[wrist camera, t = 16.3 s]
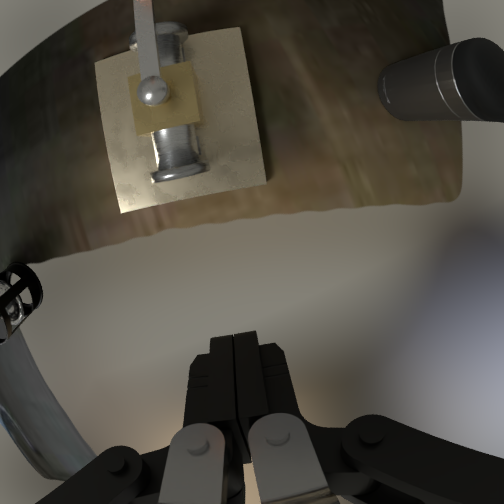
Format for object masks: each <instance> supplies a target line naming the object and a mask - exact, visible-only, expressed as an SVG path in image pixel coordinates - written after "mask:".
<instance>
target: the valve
mask: <svg viewBox="0 0 504 504" xmlns="http://www.w3.org/2000/svg"><path fill="white" fill-rule="evenodd" d="M156 33H157V41H158V50H159V58H160V66H161V73H162V79H163V80H164V81H165V82H166V83H167V84H168V86H169V89H170V93H169V97H168V99H167V100H166V101H165V102H164V103H163V104H161V105H159V106H154V107H153V106H149V105H146V104H144V103H142V102H141V101H140V100H139V98H138V96H137V88H138V86H139V84H140V82H141V74H140V66H139V58H138V48H137V38H136V31H135V32H134V33H132V34H131V36H130V37H129V44H130V49H131V50H130V51H127V52H124V53H121V54H118V55H115V56H112V57H109V58H106V59H104V60H101V61H98V62H96V63H95V70H96V79H97V88H98V96H99V103H100V110H101V117H102V123H103V129H104V135H105V141H106V146H107V151H108V157H109V162H110V167H111V171H112V176H113V181H114V185H115V189H116V194H117V198H118V202H119V206H120V210H121V213H124V212H128V211H132V210H136V209H141V208H145V207H150V206H154V205H159V204H163V203H168V202H173V201H177V200H182V199H187V198H192V197H197V196H202V195H207V194H213V193H218V192H223V191H229V190H234V189H240V188H246V187H252V186H258V185H264V184H267V183H266V176H265V170H264V163H263V157H262V151H261V144H260V138H259V132H258V126H257V120H256V114H255V108H254V102H253V96H252V91H251V85H250V79H249V74H248V68H247V62H246V57H245V51H244V46H243V41H242V35H241V30H240V27H235V28H227V29H221V30H214V31H209V32H203V33H198V34H193V35H188V31H187V26H186V25H184V24H182V23H179V22H160V23H156Z"/></svg>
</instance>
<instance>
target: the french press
mask: <svg viewBox="0 0 504 504" xmlns="http://www.w3.org/2000/svg"><path fill="white" fill-rule="evenodd" d="M11 273H15V274H16V275H18V276H19V277H20V278H21V279H20V280H19V281H18V282H16V283H15V284H14V285H13V286H12V285H11V284H10V282H9V278H10V274H11ZM26 287H28V289H29V290H30V293H31V296H32V302H33V303H31V304H25V303H23V302H22V299H21V297H20V295H19V294H20V293H21V292H22V291H23V290H24V289H25V288H26ZM42 299H43V290H42V286H41V283H40V281H39V279H38V277H37V276H36V274H35V273H34V271H33V270H32V269H31V268H29V267H28V266H27V265H25V264H23V263H20V262H15V263H12V264H10V265H9V266H8V267H7V269H5V270H4V271H3V272H1V273H0V318H1V319H2V320H3V321H4V322H5V325H6V329H7V338H6V339H0V345H1V344H4V343H5V342H6V341H7V340H8V339H9V338H10V337H11V335H12V334H13V333H14V332H15V331H16V330H17V328H18V327H19V326H20V325H21V324H22V323H23V322H24V321H25V319H26V318H27V317H28V316H29V315H30V314H31V313H32V312H33V311H34V310H35V309H37V308H38V307H39V306H40V304H41V302H42ZM23 317H25V318H24V319H23ZM22 319H23V320H22ZM21 321H22V322H21ZM19 323H20V324H19ZM17 324H19V325H18V326H17V327H16V328H15V329H14V330H13V332H12V325H17Z"/></svg>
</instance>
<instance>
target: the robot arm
mask: <svg viewBox="0 0 504 504" xmlns="http://www.w3.org/2000/svg"><path fill="white" fill-rule="evenodd" d="M378 92H379V96H380V99H381V101H382V104H383V105H384V107H385V108H386V109H387V110H388V112H389V113H390V114H392V115H393V116H394V117H396V118H398V119H400V120H404V121H433V120H454V121H489V122H491V121H492V122H503V123H504V51H503V50H502V49H501V48H500V47H499V46H498V45H497V44H495V43H494V42H492V41H490V40H488V39H485V38H472V39H468V40H465V41H461V42H458V43H454V44H451V45H447V46H444V47H441V48H438V49H435V50H432V51H429V52H426V53H423V54H420V55H417V56H414V57H411V58H408V59H405V60H402V61H400V62H397V63H394V64H392V65H389V66H387V67H386V68H385V69H384V70H383V71H382V72H381V74H380V76H379V79H378ZM187 388H188V390H187V395H186V404H185V412H184V422H183V428H182V429H181V430H180V431H178V432H177V433H176V434H175V435H174V437H173V438H172V440H171V443H170V445H169V446H167V447H165V448H162V449H160V450H156V451H152V452H149V453H145V454H142V455H139V453H138V452H137V451H136V450H134V449H133V448H130V447H127V446H114V447H111V448H109V449H107V450H105V451H104V452H102V453H101V454H100V455H99V456H97V457H96V458H95V459H94V460H92V461H91V462H90V463H89V464H87V465H86V466H85V467H83V468H82V469H81V470H80V471H78V472H77V473H76V474H74V475H73V476H72V477H71V478H69V479H68V480H67V481H65V482H64V483H63V484H61V485H60V486H59V487H57V488H56V489H55V490H53V491H52V492H51V493H49V494H48V495H46V496H45V497H44V498H42V499H41V500H40V501H38V502H37V503H35V504H245V482H244V470H243V464H247V463H252V462H253V467H254V472H255V476H256V481H257V486H258V490H259V495H260V499H261V504H340V502H339V500H338V498H337V497H336V495H341V496H342V497H343V498H344V499H346V500H348V501H350V502H352V503H354V504H504V459H503V458H500V457H496V456H493V455H489V454H486V453H482V452H479V451H476V450H473V449H470V448H467V447H464V446H461V445H458V444H455V443H452V442H449V441H446V440H444V439H441V438H438V437H435V436H432V435H430V434H427V433H425V432H422V431H419V430H417V429H414V428H412V427H409V426H407V425H404V424H402V423H399V422H397V421H394V420H392V419H390V418H387V417H384V416H381V415H373V414H372V415H365V416H361V417H359V418H356V419H354V420H353V421H351V422H350V423H349V424H348V425H347V426H346V428H327V427H320V426H316V425H313V424H311V423H310V422H308V421H307V420H305V419H304V417H303V416H302V415H301V413H300V411H299V408H298V404H297V400H296V396H295V392H294V389H293V385H292V381H291V377H290V374H289V370H288V366H287V362H286V358H285V355H284V351H283V350H282V349H281V348H280V347H279V346H278V345H277V344H276V343H270V344H264V345H259V343H258V338H257V333H256V331H250V332H245V333H238V334H234V336H233V335H227V336H220V337H214V338H211V339H210V353H209V354H201V355H197V357H196V358H195V359H194V361H193V363H192V364H191V365H190V370H189V380H188V386H187ZM251 457H252V461H251Z"/></svg>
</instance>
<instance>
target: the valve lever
mask: <svg viewBox="0 0 504 504" xmlns="http://www.w3.org/2000/svg"><path fill="white" fill-rule="evenodd" d="M134 15H135V27H136V38H137V48H138V58H139V66H140V74H141V82H140V84H139V86H138V88H137V96H138V98H139V100H140V101H141V102H142V103H144V104H146V105H149V106H153V107H154V106H159V105H161V104H163V103H164V102H165V101H166V100H167V99H168V97H169V93H170V89H169V86H168V84H167V83H166V82H165V81H164V80H163V79H162V73H161V66H160V58H159V50H158V41H157V33H156V23H155V14H154V3H153V0H134Z"/></svg>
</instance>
